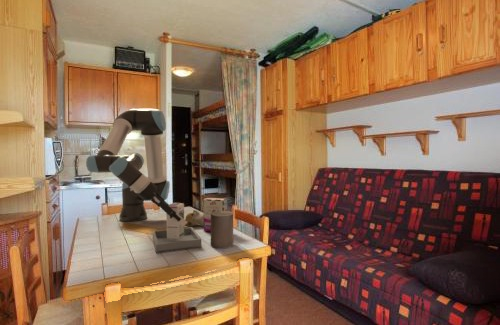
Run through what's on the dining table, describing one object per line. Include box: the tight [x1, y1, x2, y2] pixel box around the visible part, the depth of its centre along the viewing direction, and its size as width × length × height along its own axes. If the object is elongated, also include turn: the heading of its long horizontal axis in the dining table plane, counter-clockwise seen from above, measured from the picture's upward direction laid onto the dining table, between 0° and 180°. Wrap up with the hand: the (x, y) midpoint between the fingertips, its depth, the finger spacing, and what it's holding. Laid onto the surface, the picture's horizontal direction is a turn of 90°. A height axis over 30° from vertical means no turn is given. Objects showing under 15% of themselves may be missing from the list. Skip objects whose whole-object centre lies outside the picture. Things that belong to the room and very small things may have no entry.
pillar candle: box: [210, 210, 234, 249], centre depth 120 cm, size 10×10×15 cm
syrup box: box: [165, 202, 185, 239], centre depth 122 cm, size 6×6×14 cm
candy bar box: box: [203, 197, 228, 233], centre depth 140 cm, size 11×5×16 cm, turn 71°
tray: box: [152, 226, 202, 254], centre depth 122 cm, size 20×18×4 cm
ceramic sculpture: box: [184, 210, 204, 227], centre depth 151 cm, size 11×9×15 cm
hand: (183, 222), depth 123 cm, fingers closed on syrup box, 7 cm apart
